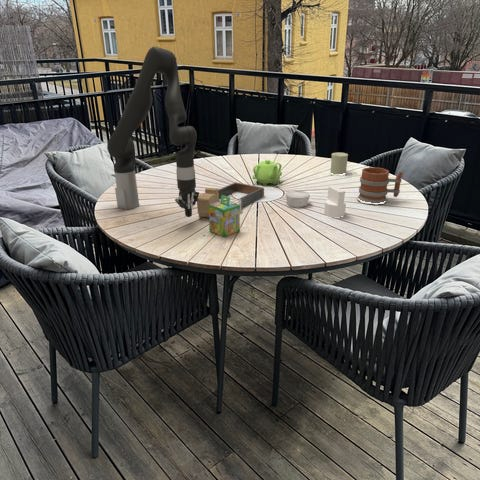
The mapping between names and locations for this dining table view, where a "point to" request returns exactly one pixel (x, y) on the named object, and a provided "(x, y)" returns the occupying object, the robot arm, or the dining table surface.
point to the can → (339, 163)
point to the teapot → (267, 172)
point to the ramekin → (297, 198)
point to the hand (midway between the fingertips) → (188, 216)
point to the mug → (377, 185)
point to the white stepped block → (335, 202)
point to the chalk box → (224, 217)
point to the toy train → (207, 201)
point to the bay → (250, 190)
